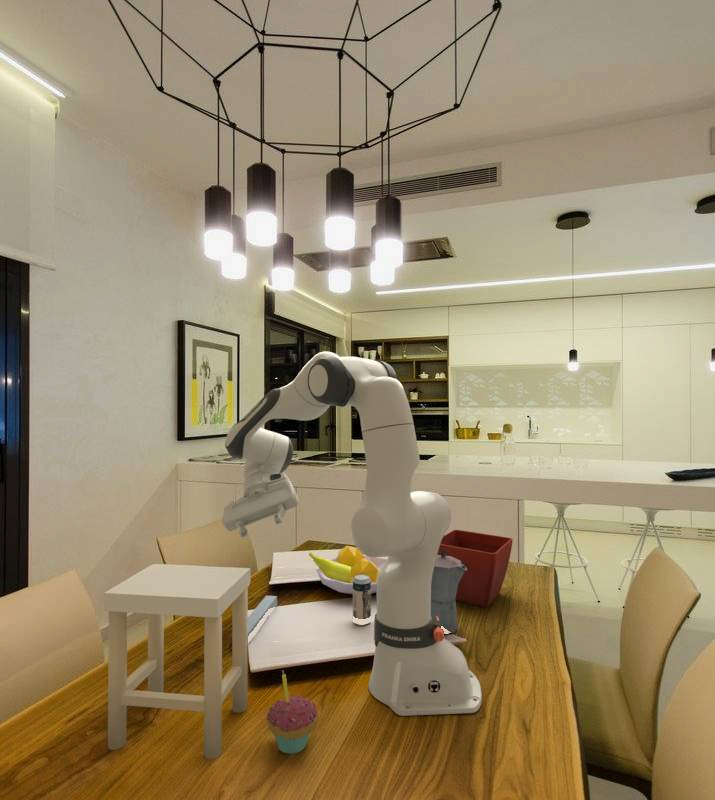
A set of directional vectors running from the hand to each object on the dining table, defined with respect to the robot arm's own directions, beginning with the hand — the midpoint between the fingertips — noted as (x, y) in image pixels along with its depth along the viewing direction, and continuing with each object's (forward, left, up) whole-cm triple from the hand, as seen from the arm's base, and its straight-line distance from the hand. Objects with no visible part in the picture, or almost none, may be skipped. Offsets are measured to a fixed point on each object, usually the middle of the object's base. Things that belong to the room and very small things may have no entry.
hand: (260, 528), depth 121 cm
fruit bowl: (-19, -36, -27) cm, 49 cm away
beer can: (-24, -11, -27) cm, 38 cm away
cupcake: (-18, +36, -27) cm, 49 cm away
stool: (+3, +34, -27) cm, 44 cm away
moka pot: (-44, -11, -27) cm, 53 cm away
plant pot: (-55, -33, -27) cm, 69 cm away
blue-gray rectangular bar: (+3, -6, -27) cm, 28 cm away
